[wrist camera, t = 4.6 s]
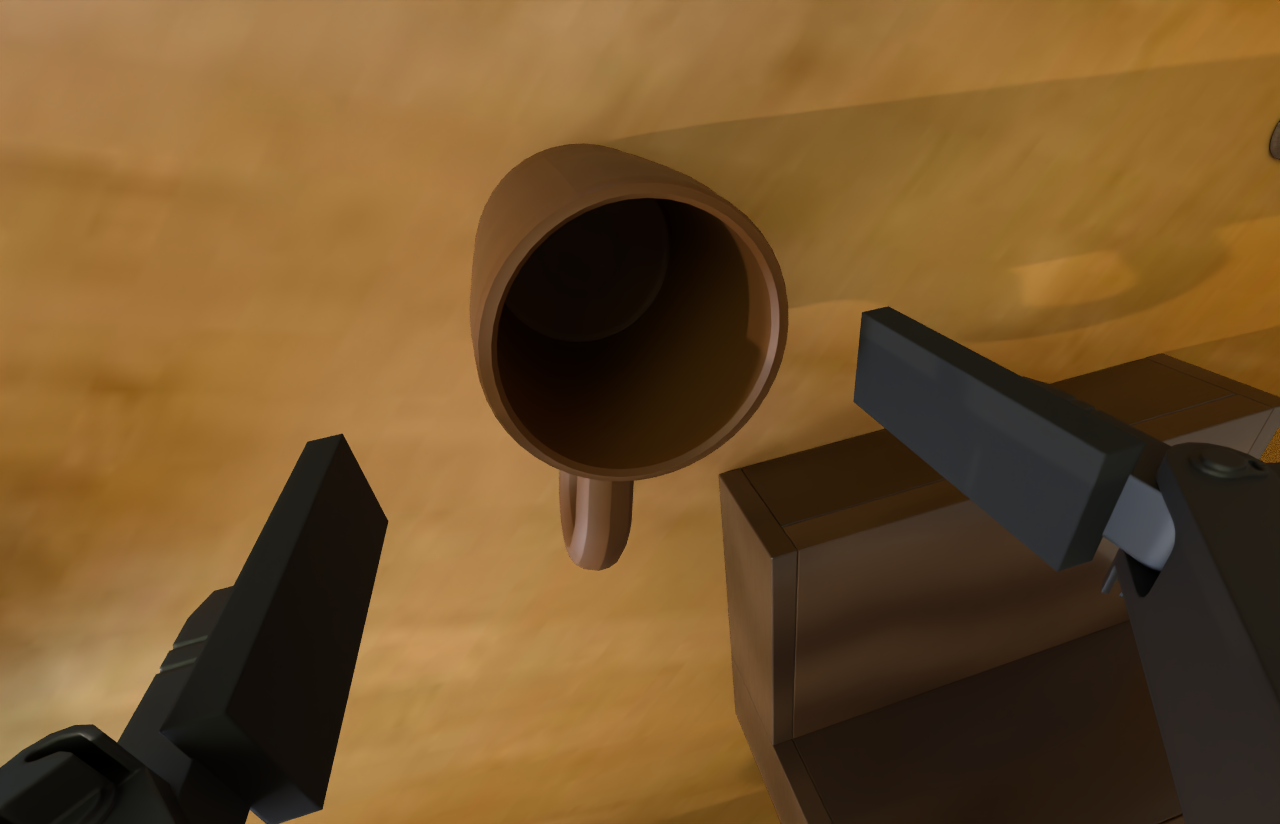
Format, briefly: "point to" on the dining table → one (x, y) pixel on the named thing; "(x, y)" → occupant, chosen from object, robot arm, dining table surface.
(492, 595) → the dining table surface
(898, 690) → the stepped stand
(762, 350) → the mug
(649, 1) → the dining table surface
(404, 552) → the dining table surface
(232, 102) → the dining table surface
